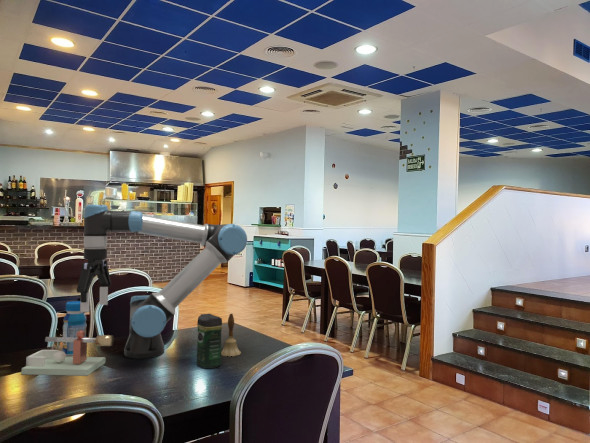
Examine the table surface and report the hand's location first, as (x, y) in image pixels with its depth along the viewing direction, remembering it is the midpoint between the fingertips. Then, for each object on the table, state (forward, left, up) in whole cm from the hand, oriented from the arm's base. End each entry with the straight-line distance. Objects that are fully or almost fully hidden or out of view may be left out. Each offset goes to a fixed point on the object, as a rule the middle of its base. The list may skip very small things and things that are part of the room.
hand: (94, 308), depth 153 cm
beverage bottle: (+15, -17, -21) cm, 31 cm away
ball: (+11, +1, -17) cm, 21 cm away
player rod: (+5, +1, -19) cm, 19 cm away
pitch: (+9, +1, -21) cm, 23 cm away
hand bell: (-46, -21, -21) cm, 55 cm away
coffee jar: (-40, -6, -21) cm, 46 cm away
